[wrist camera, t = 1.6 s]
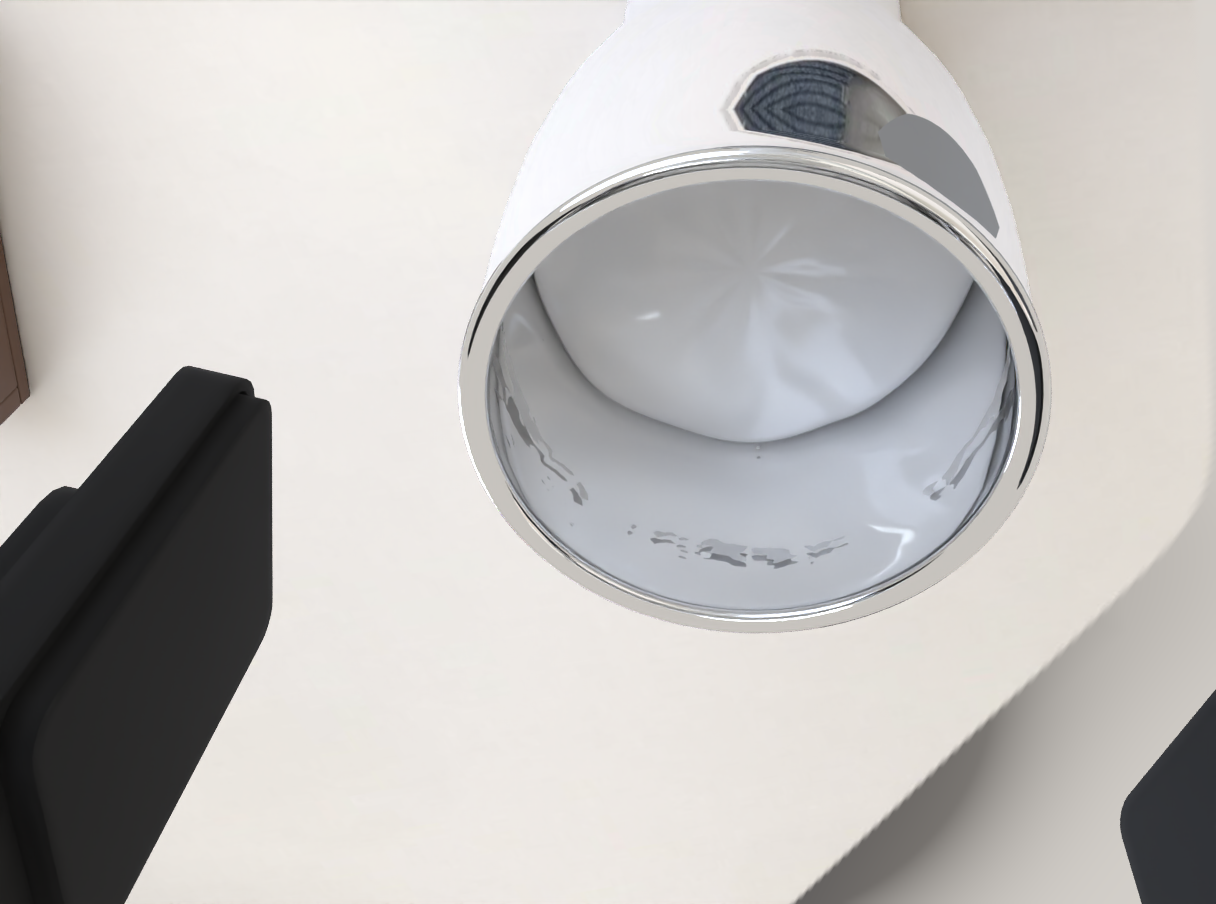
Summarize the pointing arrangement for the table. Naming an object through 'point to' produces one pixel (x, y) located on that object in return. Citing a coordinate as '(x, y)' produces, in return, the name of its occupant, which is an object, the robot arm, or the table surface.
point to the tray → (10, 350)
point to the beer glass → (757, 322)
